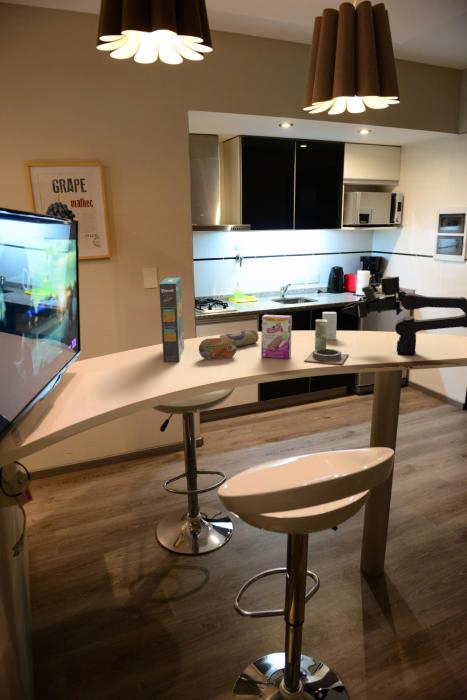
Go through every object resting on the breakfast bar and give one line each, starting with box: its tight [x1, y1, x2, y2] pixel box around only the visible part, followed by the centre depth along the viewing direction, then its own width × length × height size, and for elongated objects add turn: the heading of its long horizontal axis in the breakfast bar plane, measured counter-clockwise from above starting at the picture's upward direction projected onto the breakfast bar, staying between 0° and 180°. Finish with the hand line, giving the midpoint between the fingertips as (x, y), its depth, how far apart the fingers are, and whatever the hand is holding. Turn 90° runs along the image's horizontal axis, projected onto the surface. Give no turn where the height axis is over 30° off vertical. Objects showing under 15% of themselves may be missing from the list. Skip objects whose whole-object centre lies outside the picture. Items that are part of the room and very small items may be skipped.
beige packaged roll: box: [218, 327, 260, 348], centre depth 196 cm, size 26×8×7 cm, turn 131°
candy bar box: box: [260, 314, 293, 360], centre depth 179 cm, size 11×5×16 cm, turn 74°
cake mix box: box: [158, 277, 185, 363], centre depth 183 cm, size 22×6×30 cm, turn 1°
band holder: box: [303, 348, 349, 366], centre depth 177 cm, size 14×14×3 cm
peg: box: [314, 318, 328, 350], centre depth 188 cm, size 4×4×12 cm
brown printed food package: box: [198, 336, 238, 361], centre depth 179 cm, size 15×3×8 cm, turn 105°
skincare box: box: [322, 311, 338, 340], centre depth 208 cm, size 6×4×12 cm
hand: (343, 308), depth 187 cm, fingers open, 9 cm apart
